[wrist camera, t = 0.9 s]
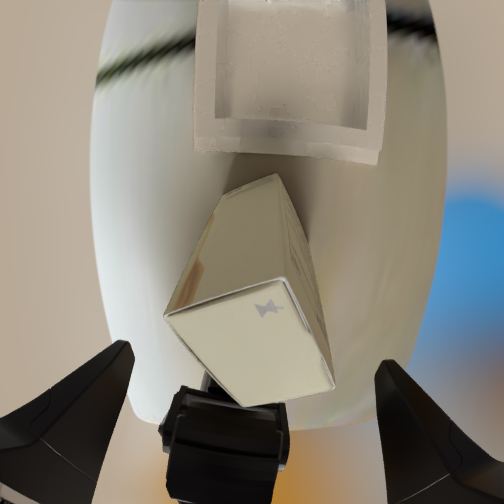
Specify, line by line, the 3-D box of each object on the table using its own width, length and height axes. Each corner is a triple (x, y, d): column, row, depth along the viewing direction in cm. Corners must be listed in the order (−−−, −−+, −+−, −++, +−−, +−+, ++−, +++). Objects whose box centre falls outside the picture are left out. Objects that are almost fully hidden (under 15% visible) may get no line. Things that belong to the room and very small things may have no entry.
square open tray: (374, 163, 17) (394, 175, 14) (196, 151, 18) (178, 159, 14) (378, -15, 10) (395, -34, 7) (203, -28, 11) (190, -51, 8)
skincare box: (220, 194, 19) (150, 308, 8) (278, 170, 18) (282, 265, 7) (258, 269, 22) (240, 412, 11) (311, 250, 20) (338, 393, 10)
